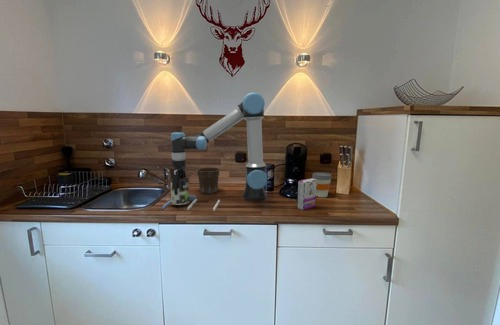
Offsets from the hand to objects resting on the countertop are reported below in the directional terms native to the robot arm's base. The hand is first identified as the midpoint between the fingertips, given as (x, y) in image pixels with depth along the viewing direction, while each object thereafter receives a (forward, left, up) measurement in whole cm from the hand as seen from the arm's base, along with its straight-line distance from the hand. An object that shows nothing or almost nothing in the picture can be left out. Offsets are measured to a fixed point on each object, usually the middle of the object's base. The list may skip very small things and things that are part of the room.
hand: (180, 196), depth 139 cm
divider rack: (-7, 0, -5) cm, 9 cm away
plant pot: (-10, -29, -5) cm, 31 cm away
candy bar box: (-74, -2, -5) cm, 74 cm away
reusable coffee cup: (-88, -27, -5) cm, 92 cm away
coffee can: (0, 0, -3) cm, 3 cm away
